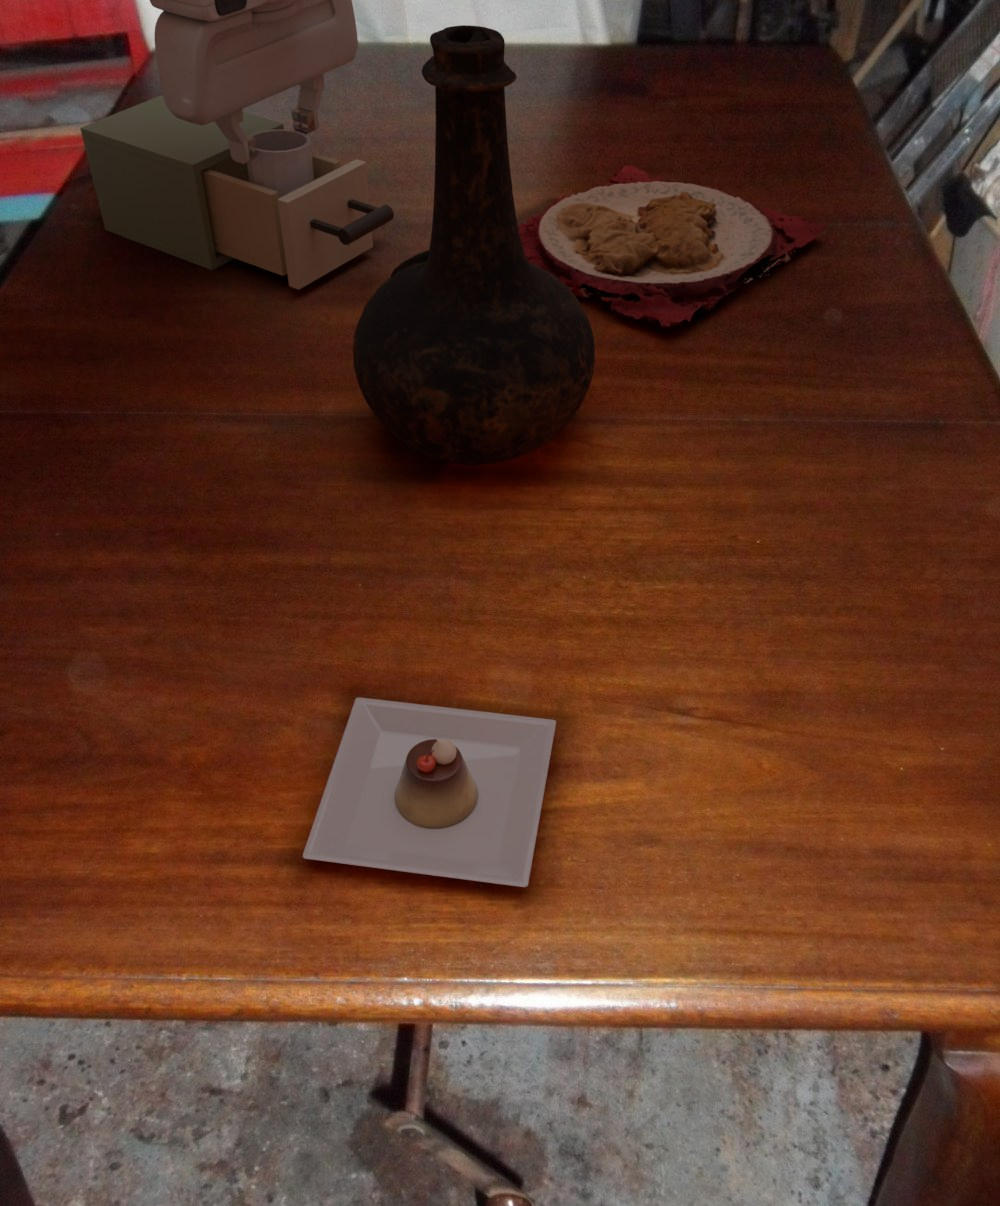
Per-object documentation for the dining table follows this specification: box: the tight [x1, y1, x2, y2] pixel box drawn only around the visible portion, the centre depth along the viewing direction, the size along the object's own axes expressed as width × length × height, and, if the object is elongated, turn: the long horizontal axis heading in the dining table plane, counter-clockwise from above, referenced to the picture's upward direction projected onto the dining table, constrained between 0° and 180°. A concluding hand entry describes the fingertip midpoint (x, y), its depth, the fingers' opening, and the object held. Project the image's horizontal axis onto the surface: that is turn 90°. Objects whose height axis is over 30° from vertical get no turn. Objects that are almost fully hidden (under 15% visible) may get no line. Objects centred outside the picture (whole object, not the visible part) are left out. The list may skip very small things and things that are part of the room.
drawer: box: [201, 151, 395, 291], centre depth 108 cm, size 18×10×8 cm, turn 55°
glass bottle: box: [352, 24, 596, 466], centre depth 82 cm, size 18×18×28 cm
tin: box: [247, 128, 314, 198], centre depth 106 cm, size 6×6×6 cm
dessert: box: [302, 697, 557, 888], centre depth 65 cm, size 12×12×5 cm
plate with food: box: [518, 165, 827, 328], centre depth 112 cm, size 24×26×4 cm
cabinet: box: [80, 94, 285, 271], centre depth 113 cm, size 15×12×10 cm
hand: (276, 145), depth 104 cm, fingers open, 6 cm apart
